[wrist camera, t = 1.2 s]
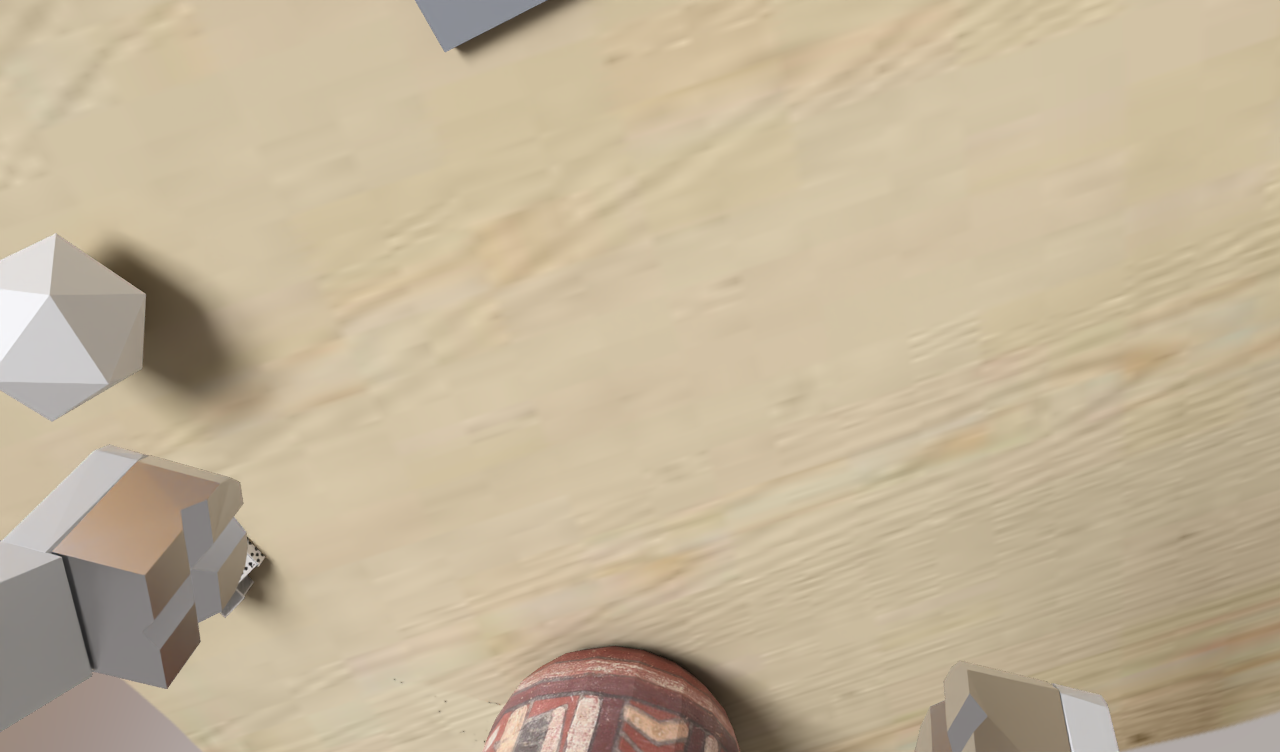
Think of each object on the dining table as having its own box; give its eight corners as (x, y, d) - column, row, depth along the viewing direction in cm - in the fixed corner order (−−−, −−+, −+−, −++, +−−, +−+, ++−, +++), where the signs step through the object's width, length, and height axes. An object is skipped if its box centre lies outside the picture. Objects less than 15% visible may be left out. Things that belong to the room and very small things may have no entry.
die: (22, 288, 58) (-115, 384, 50) (66, 181, 53) (-77, 268, 45) (152, 374, 60) (40, 480, 52) (206, 277, 55) (92, 377, 47)
